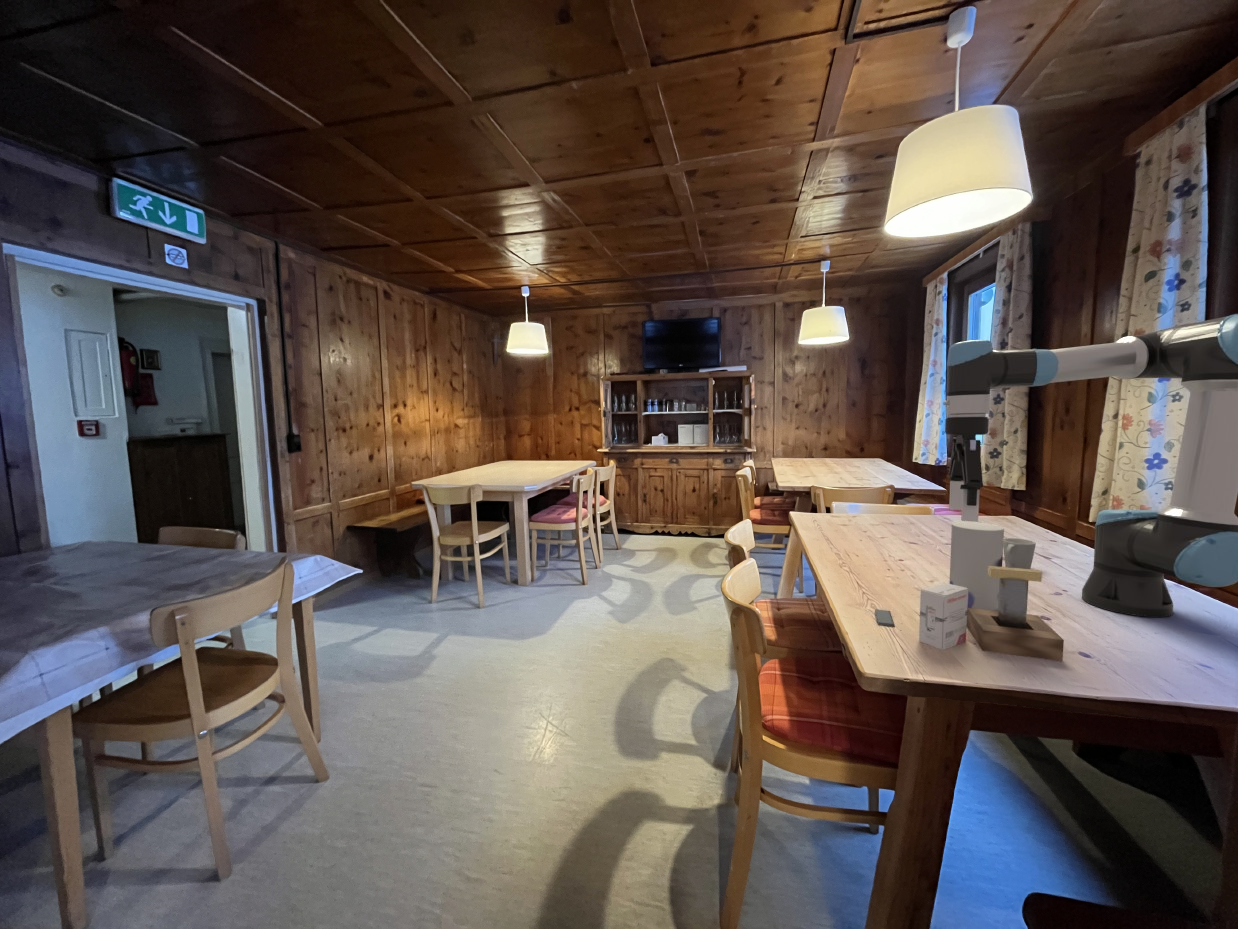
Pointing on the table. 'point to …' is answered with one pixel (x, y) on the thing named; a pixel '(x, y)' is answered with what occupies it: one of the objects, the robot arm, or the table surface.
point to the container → (976, 561)
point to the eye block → (1015, 636)
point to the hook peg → (1013, 594)
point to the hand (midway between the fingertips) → (962, 515)
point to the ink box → (943, 615)
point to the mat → (884, 618)
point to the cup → (1018, 553)
